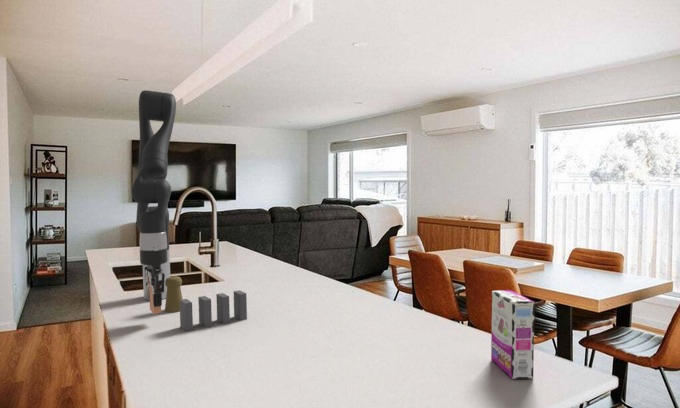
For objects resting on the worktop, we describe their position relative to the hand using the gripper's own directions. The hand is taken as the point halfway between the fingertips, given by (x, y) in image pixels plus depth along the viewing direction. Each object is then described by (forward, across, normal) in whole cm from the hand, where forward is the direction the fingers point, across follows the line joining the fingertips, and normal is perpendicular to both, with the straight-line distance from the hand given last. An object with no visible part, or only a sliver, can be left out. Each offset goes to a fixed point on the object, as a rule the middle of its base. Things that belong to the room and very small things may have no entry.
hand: (155, 303), depth 138 cm
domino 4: (+6, +10, +22) cm, 25 cm away
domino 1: (+6, +11, +6) cm, 13 cm away
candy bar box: (+4, +83, +55) cm, 100 cm away
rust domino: (+2, 0, 0) cm, 2 cm away
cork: (+6, -12, +9) cm, 16 cm away
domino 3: (+6, +10, +17) cm, 21 cm away
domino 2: (+6, +10, +11) cm, 17 cm away
